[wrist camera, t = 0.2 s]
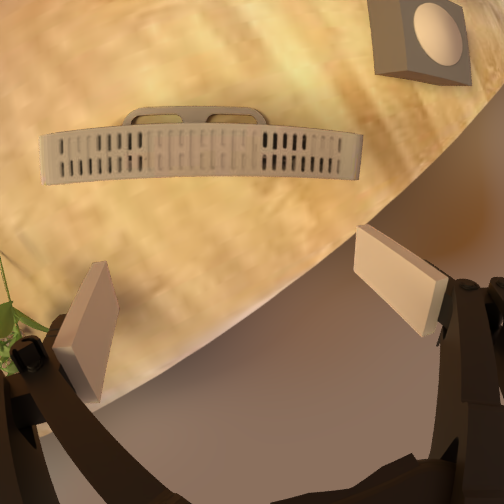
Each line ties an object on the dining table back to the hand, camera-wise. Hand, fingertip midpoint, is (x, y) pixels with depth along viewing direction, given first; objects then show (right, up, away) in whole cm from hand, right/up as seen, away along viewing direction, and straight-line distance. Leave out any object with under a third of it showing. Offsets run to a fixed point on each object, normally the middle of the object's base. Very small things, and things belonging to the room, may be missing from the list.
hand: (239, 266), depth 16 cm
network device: (-7, +15, +23) cm, 29 cm away
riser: (+25, +35, +22) cm, 48 cm away
